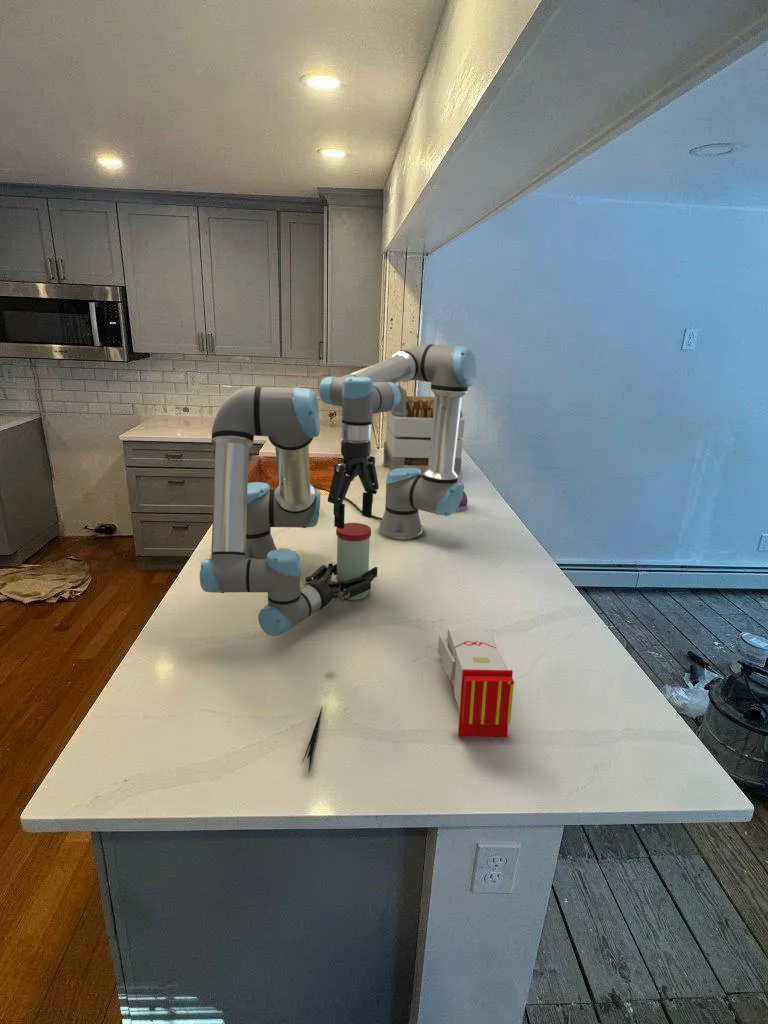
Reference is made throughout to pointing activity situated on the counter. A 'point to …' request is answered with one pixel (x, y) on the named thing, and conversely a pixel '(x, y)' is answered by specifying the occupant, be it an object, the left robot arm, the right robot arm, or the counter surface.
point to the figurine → (464, 498)
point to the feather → (313, 740)
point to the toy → (478, 682)
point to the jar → (352, 561)
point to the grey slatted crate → (413, 433)
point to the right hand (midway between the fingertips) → (353, 521)
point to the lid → (354, 532)
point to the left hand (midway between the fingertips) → (362, 567)
